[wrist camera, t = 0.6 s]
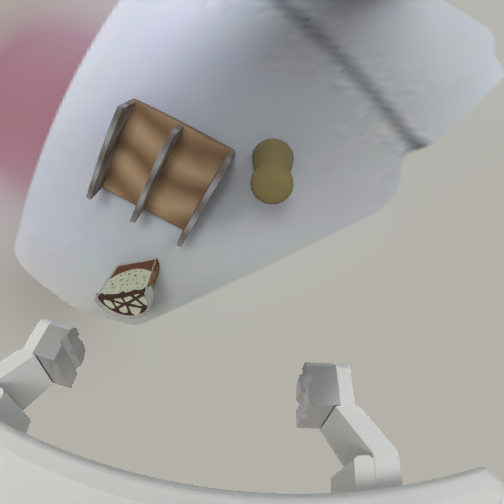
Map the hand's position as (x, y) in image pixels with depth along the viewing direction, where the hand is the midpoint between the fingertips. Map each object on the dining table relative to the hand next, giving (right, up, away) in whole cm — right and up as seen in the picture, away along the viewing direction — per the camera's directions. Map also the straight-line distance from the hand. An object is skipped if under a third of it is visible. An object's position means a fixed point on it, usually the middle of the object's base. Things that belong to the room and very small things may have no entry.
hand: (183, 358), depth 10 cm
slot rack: (-12, +17, +38) cm, 43 cm away
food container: (-19, -1, +52) cm, 55 cm away
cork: (+5, +17, +36) cm, 41 cm away
